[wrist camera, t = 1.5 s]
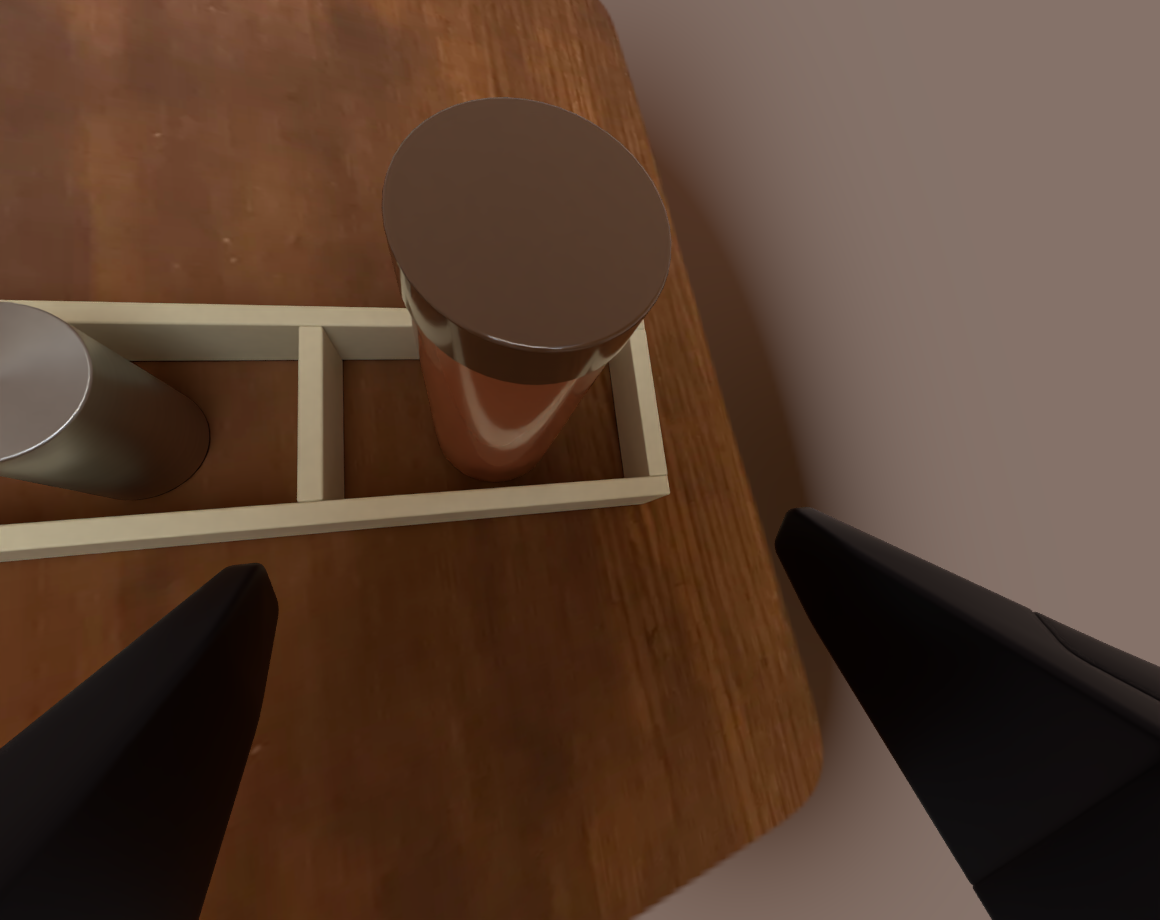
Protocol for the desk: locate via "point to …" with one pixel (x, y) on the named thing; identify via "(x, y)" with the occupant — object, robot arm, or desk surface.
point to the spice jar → (518, 270)
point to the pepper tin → (89, 414)
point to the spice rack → (323, 428)
